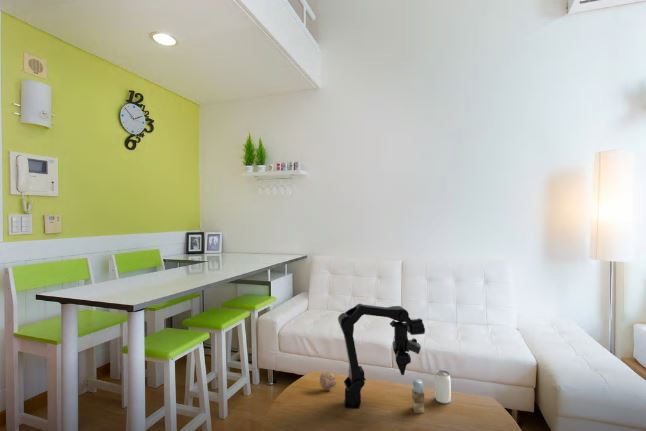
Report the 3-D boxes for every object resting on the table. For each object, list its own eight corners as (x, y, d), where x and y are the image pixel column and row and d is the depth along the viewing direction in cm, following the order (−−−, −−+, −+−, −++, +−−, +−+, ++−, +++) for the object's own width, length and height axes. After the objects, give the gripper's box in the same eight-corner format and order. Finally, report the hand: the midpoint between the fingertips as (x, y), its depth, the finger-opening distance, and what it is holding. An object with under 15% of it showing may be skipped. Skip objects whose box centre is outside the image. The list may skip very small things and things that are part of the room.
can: (452, 404, 148) (451, 377, 148) (436, 403, 149) (435, 375, 149) (449, 396, 154) (449, 370, 154) (434, 395, 155) (434, 369, 155)
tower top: (414, 403, 142) (414, 393, 142) (412, 398, 146) (412, 388, 146) (424, 403, 142) (424, 393, 142) (421, 397, 146) (421, 388, 146)
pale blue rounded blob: (413, 393, 142) (413, 383, 142) (412, 388, 146) (412, 379, 146) (423, 393, 142) (423, 384, 142) (422, 389, 146) (422, 379, 146)
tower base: (414, 412, 142) (414, 402, 142) (412, 407, 146) (412, 397, 146) (424, 413, 142) (423, 403, 142) (422, 407, 146) (422, 398, 146)
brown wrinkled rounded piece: (336, 387, 165) (336, 370, 165) (335, 393, 158) (335, 376, 158) (320, 386, 165) (320, 370, 165) (319, 393, 159) (319, 376, 159)
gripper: (422, 343, 142) (423, 381, 142) (416, 329, 161) (416, 362, 161) (395, 342, 144) (396, 379, 144) (392, 328, 162) (392, 361, 162)
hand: (401, 370), depth 153 cm, fingers open, 9 cm apart
